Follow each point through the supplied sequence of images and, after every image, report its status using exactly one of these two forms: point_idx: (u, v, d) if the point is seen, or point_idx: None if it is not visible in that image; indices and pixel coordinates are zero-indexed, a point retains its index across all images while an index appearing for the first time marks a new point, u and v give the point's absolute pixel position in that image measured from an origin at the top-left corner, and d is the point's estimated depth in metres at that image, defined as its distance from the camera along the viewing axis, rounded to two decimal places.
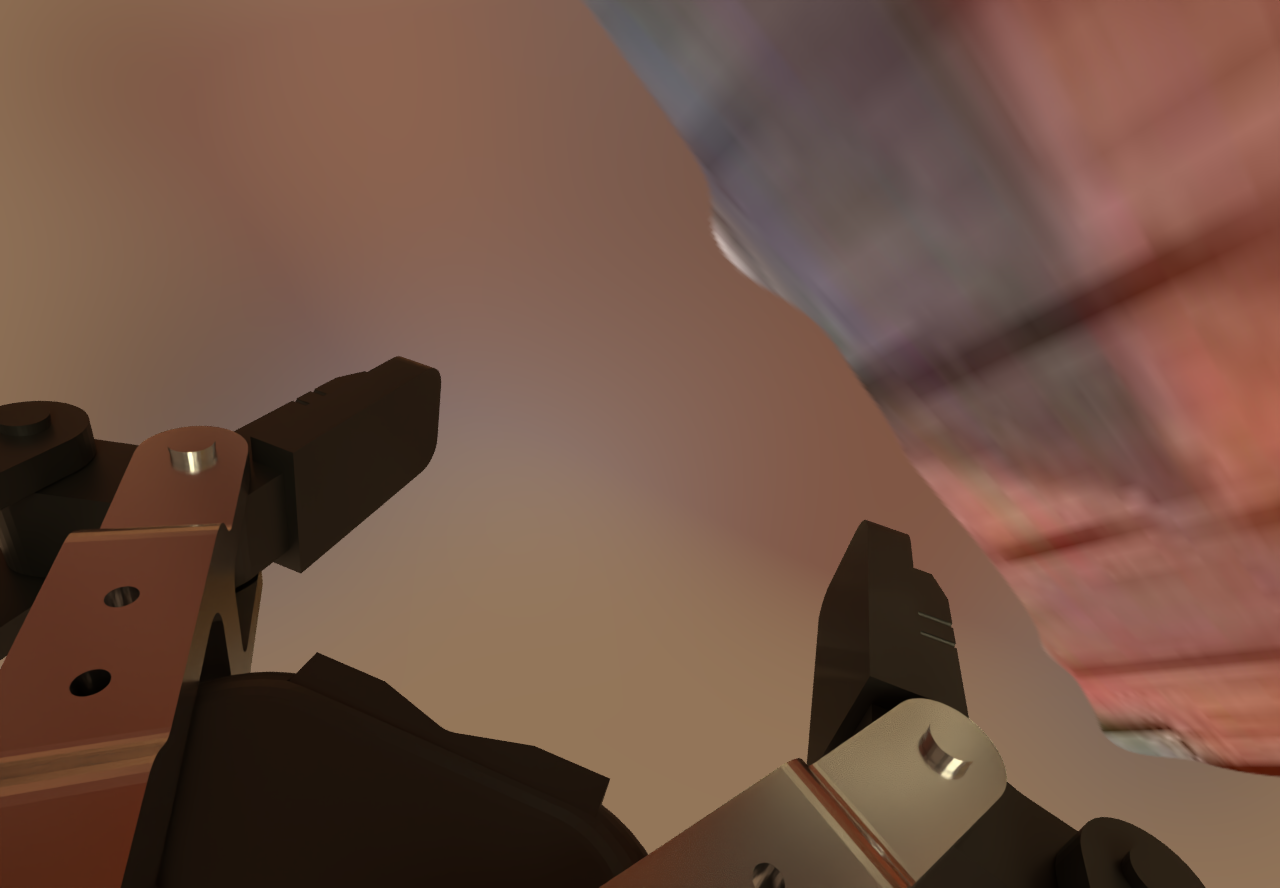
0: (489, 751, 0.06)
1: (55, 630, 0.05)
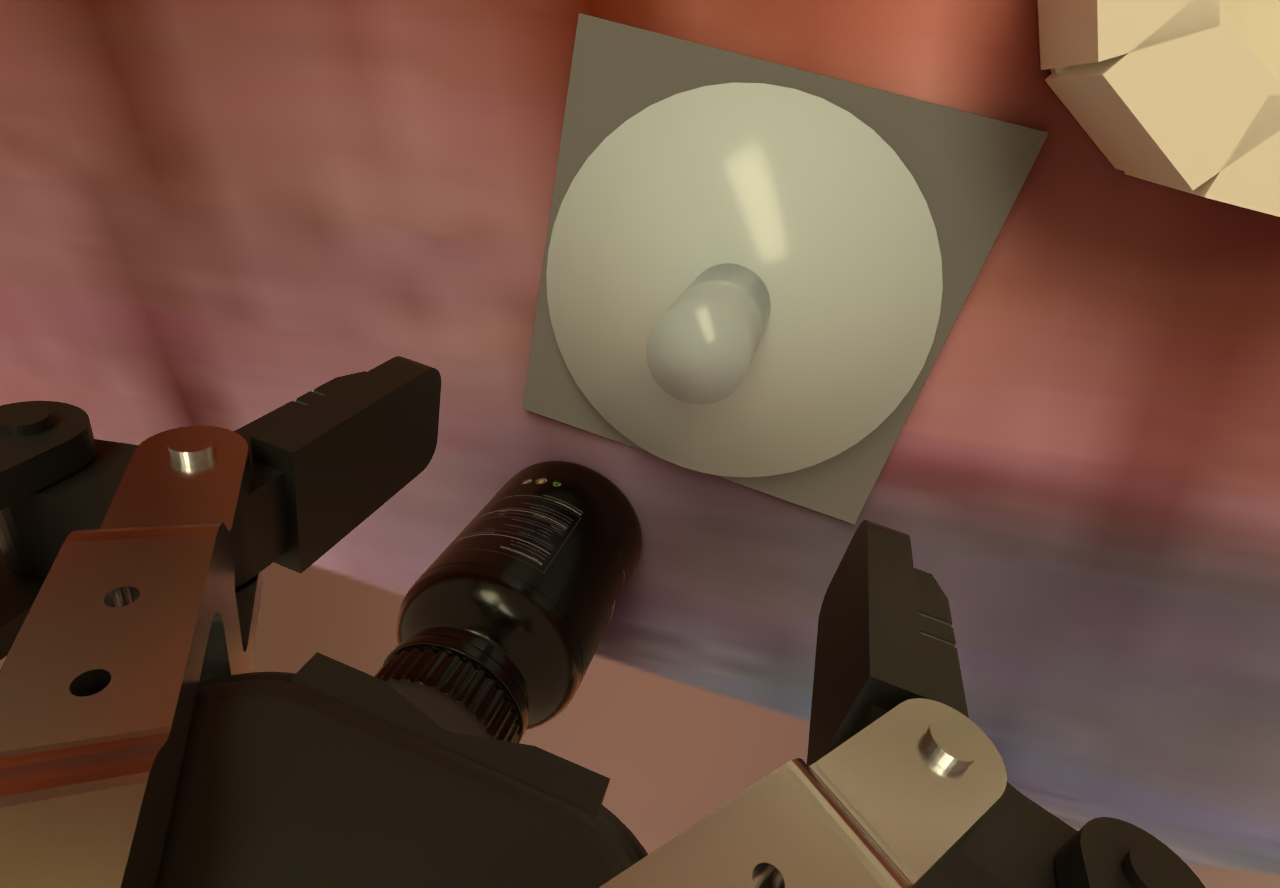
0: (489, 750, 0.06)
1: (55, 630, 0.05)
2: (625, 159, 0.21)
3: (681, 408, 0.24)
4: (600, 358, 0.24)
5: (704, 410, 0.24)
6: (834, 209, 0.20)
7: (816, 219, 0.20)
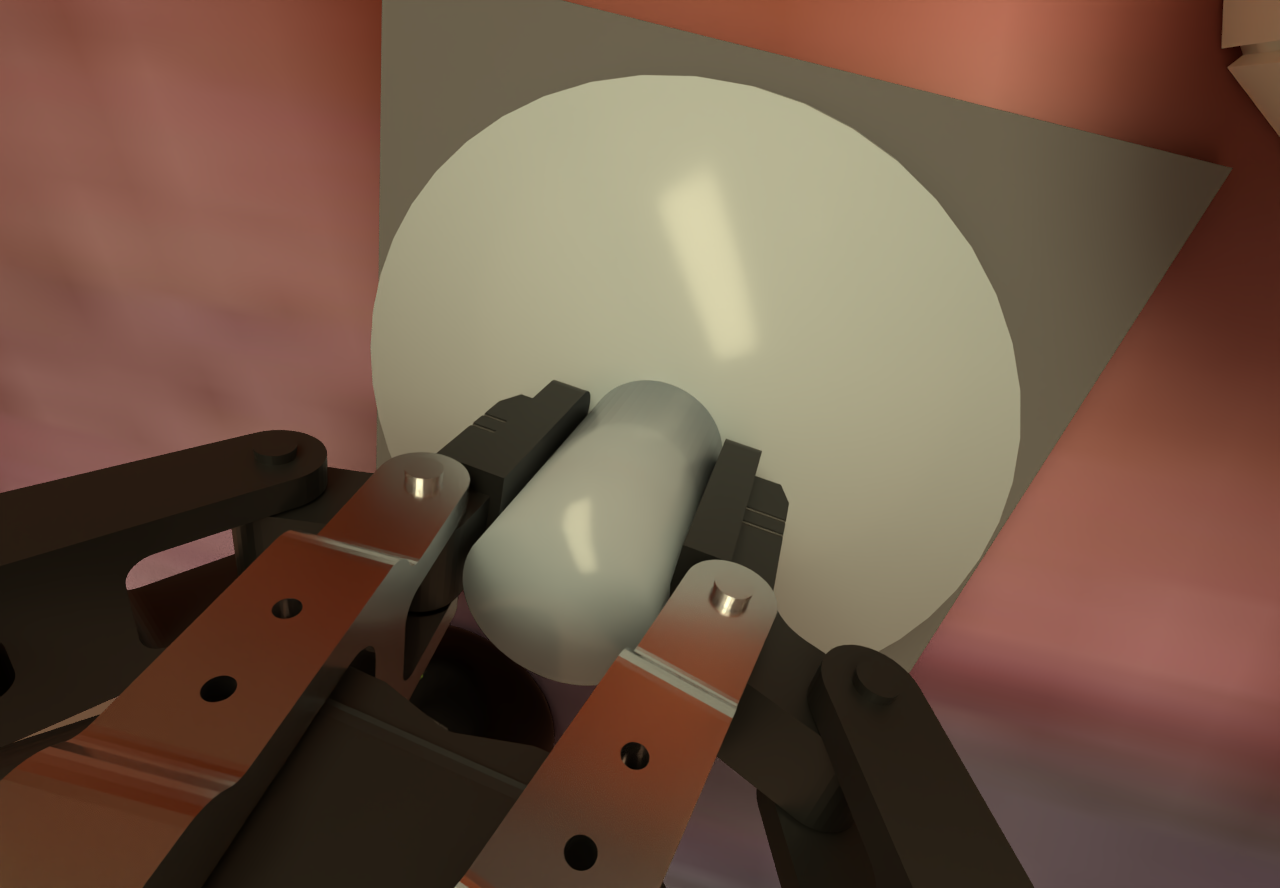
0: (489, 751, 0.06)
1: (224, 624, 0.06)
2: (471, 208, 0.12)
3: None
4: None
5: None
6: (827, 300, 0.11)
7: (796, 316, 0.11)
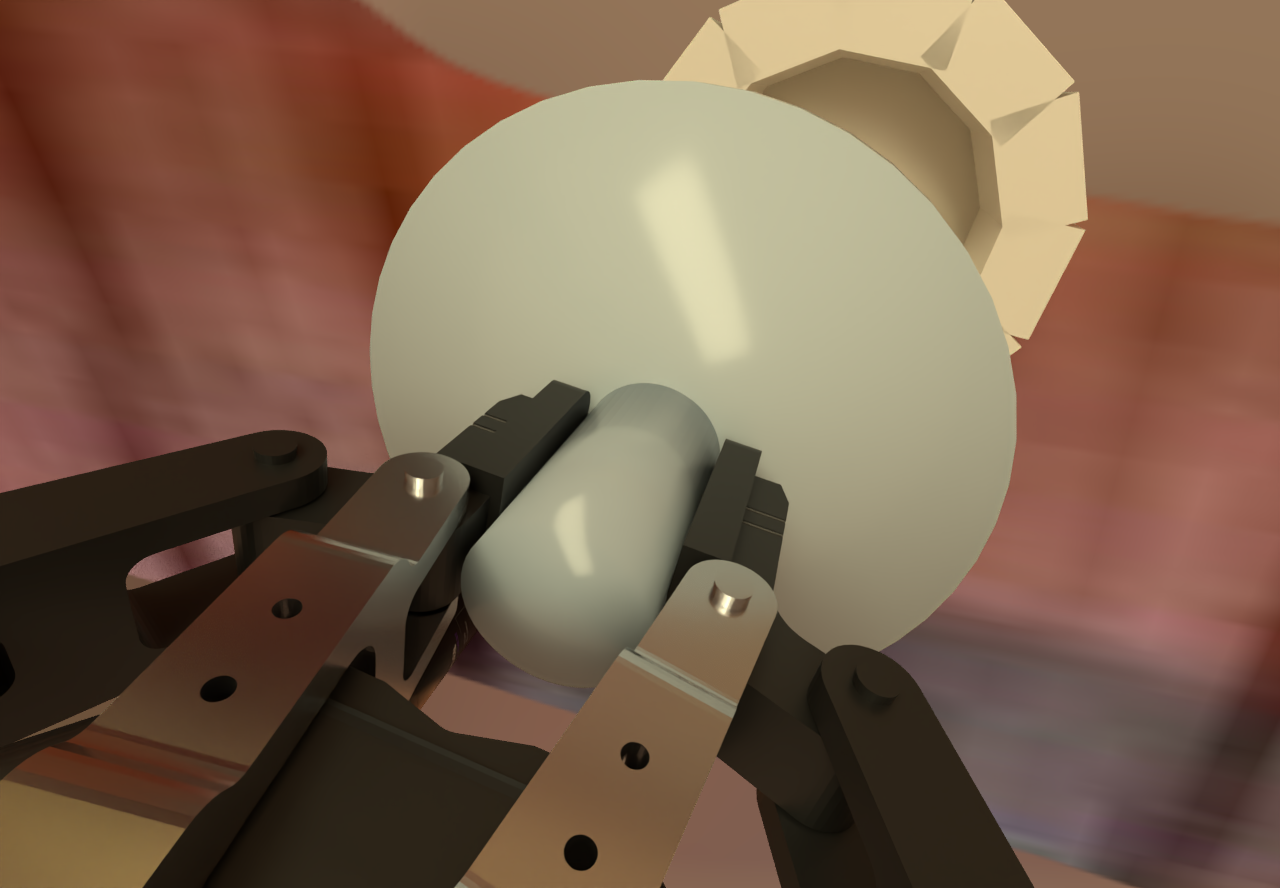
0: (489, 751, 0.06)
1: (224, 623, 0.06)
2: (469, 211, 0.12)
3: None
4: None
5: None
6: (824, 303, 0.11)
7: (793, 320, 0.11)
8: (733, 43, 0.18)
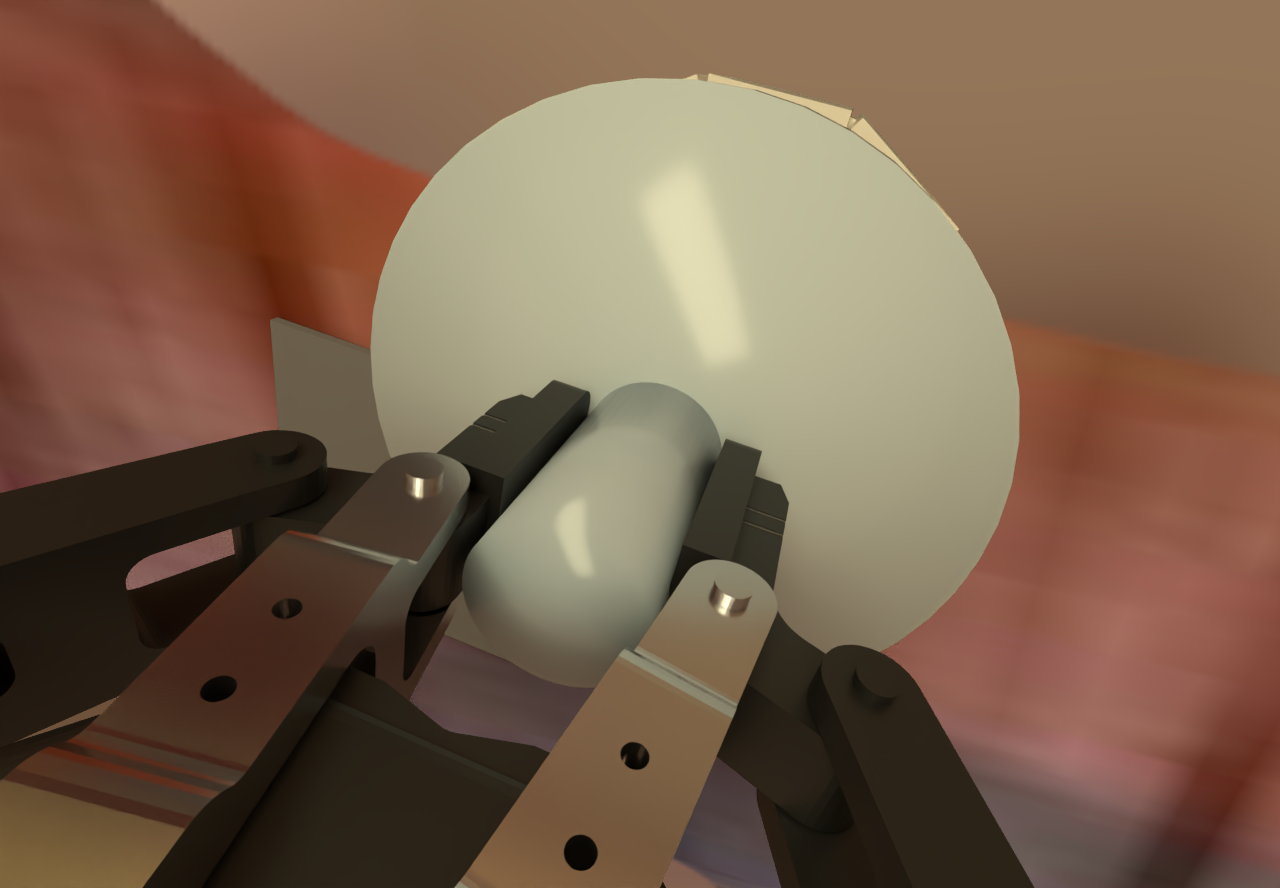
0: (489, 752, 0.06)
1: (224, 623, 0.06)
2: (471, 210, 0.12)
3: None
4: None
5: None
6: (826, 302, 0.11)
7: (795, 319, 0.11)
8: None
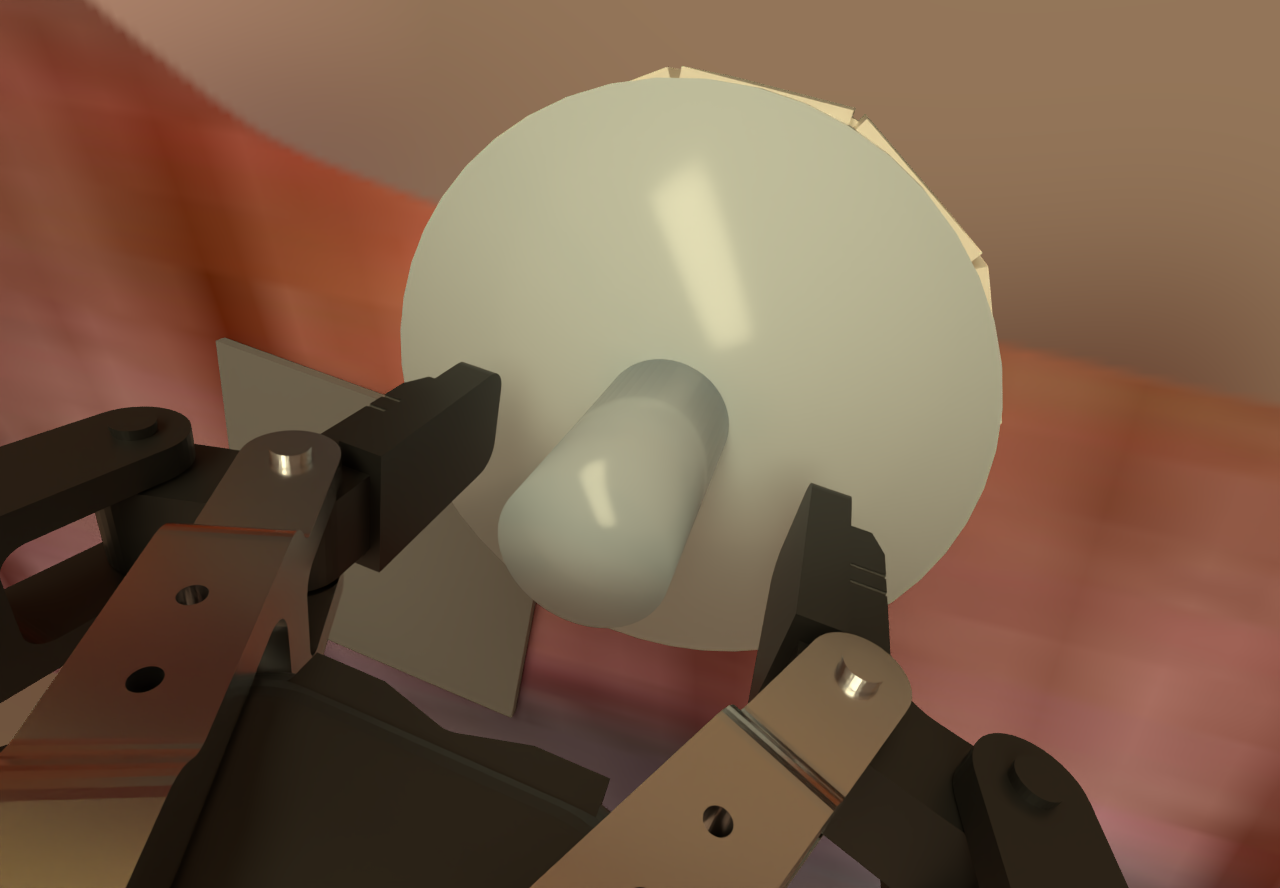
0: (489, 751, 0.06)
1: (127, 621, 0.06)
2: (498, 199, 0.13)
3: None
4: (488, 481, 0.16)
5: None
6: (826, 283, 0.12)
7: (797, 298, 0.12)
8: None
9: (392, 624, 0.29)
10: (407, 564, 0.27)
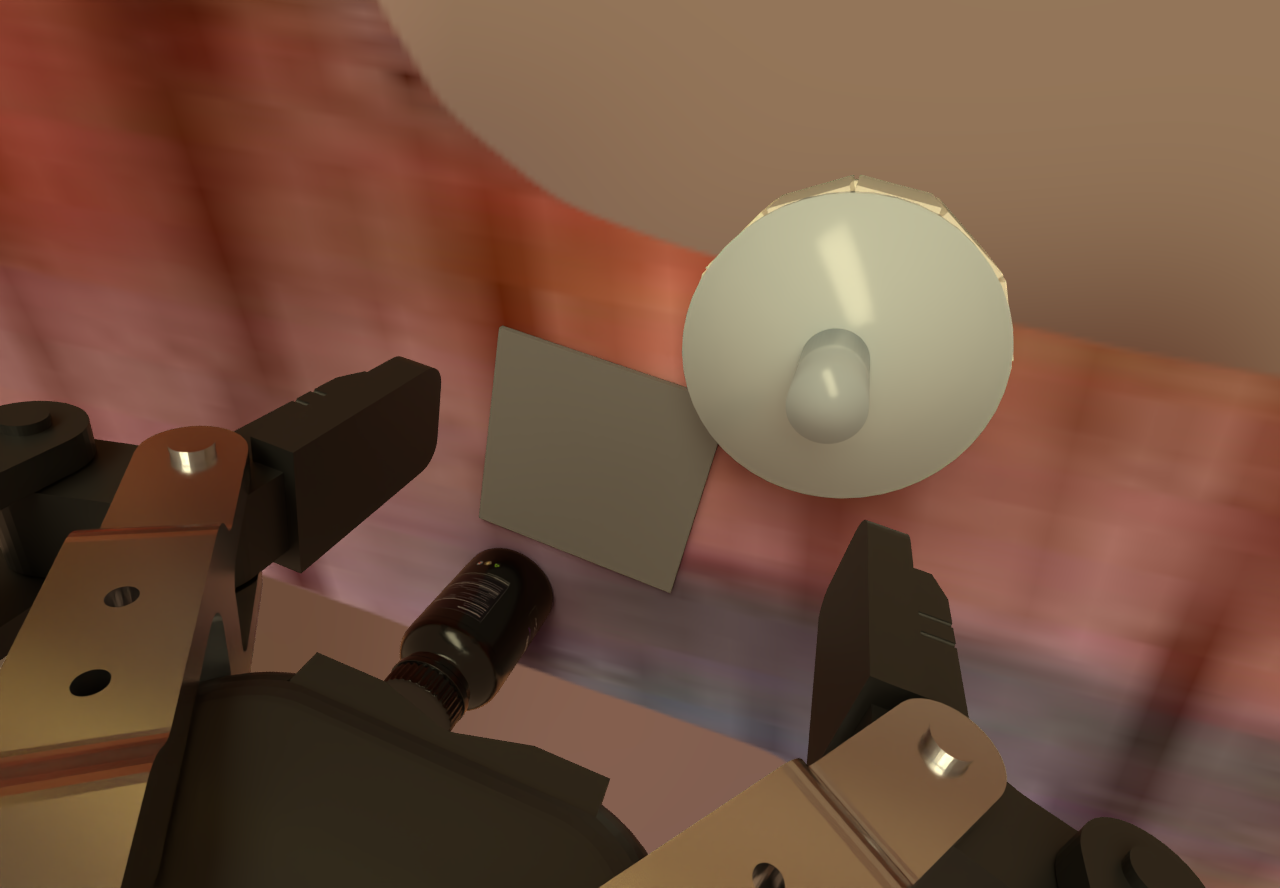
0: (488, 752, 0.06)
1: (55, 630, 0.05)
2: (757, 247, 0.26)
3: (789, 441, 0.29)
4: (723, 400, 0.29)
5: (809, 443, 0.29)
6: (926, 289, 0.25)
7: (911, 296, 0.25)
8: None
9: (590, 525, 0.42)
10: (610, 479, 0.40)
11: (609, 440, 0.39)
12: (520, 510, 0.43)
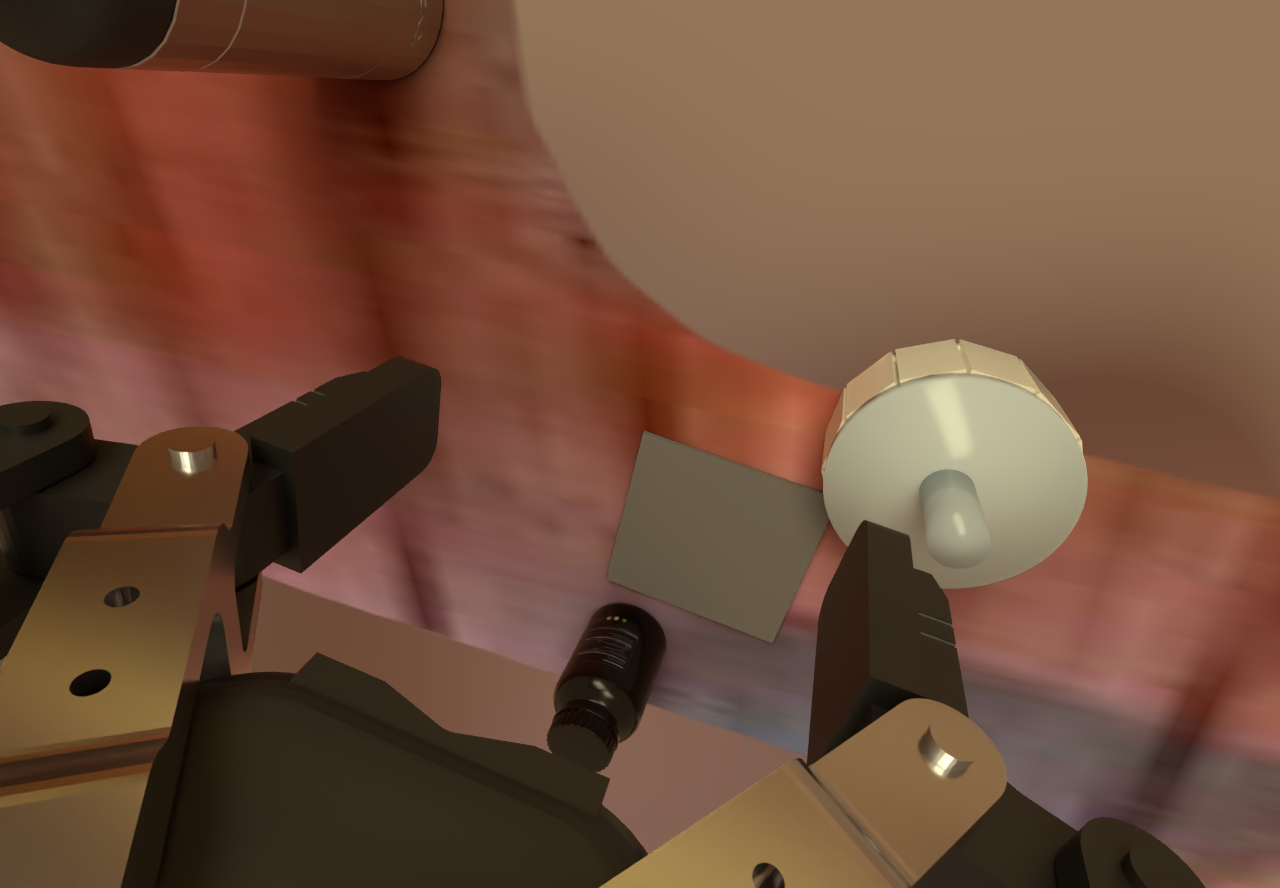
0: (489, 752, 0.06)
1: (55, 630, 0.05)
2: (893, 410, 0.34)
3: None
4: (853, 514, 0.38)
5: (921, 548, 0.38)
6: (1023, 447, 0.33)
7: (1011, 451, 0.34)
8: None
9: (706, 588, 0.51)
10: (728, 553, 0.48)
11: (731, 523, 0.47)
12: (644, 574, 0.52)
